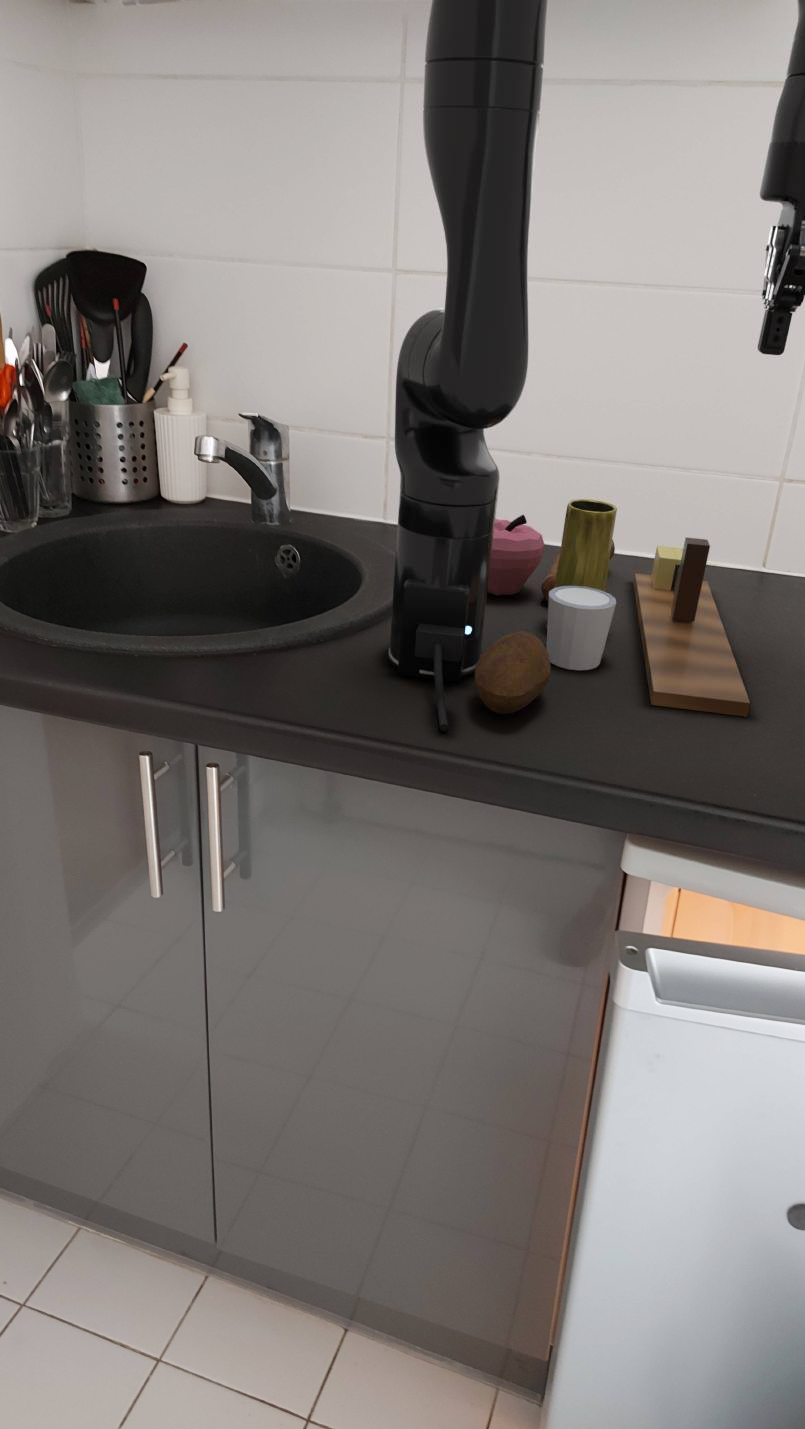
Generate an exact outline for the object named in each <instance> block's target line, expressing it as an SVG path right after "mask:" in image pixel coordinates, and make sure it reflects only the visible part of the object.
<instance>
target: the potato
mask: <svg viewBox="0 0 805 1429" xmlns="http://www.w3.org/2000/svg"><path fill="white" fill-rule="evenodd" d="M551 668H552V667H551V663H550V660H549V655H548V652H547V647H546V646H545V645H544V643H543V642H542V640H541V639H540V638H539V637H537V636H536V635H535V634H533V633H532V632H530V631H523V630H518V631H514V632H511V633H508V634H505V635H504V636H502V637H501V638H499V639H498V640H497V641H495V642H493V643H492V644H491V645H490V646H489V647H488V648H487V649H486V650H485V651H484V652H483V653H481V656H480V658H479V660H478V663H477V665H476V668H475V672H474V686H475V690H476V693H477V696H478V697H479V699H480V700H481V701H482V703H483V704H484V706H485V707H486V708H488V710H490V711H491V712H493V713H495V714H499V715H509V714H514V713H516V712H518V711H520V710H522V709H523V708H526V706H528V705H529V704H531V702H532V701H534V700H535V699H536V698H537V697H538V696H539V695H540V694H541V693H542V691H543V690H544V689H545V687H546V686H547V685H548V683H549V681H550V677H551Z"/></svg>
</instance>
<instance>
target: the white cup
mask: <svg viewBox="0 0 805 1429" xmlns="http://www.w3.org/2000/svg"><path fill="white" fill-rule="evenodd" d="M616 605H617V600H616V597H614V596H613V595H612V594H611V593H608V592H607V591H606V592H604V591H601V590H598V589H594V588H589V587H582V586H561V587H557V588H553V589H552V590H551V591H549V601H548V604H547V606H548V607H547V622H548V627H547V628H546V630H547V631H546V650H547V652H548V655H549V660H550V664H553V665H555V666H556V667H559V668H562V669H566V670H573V671H590V670H593V669H596V668H598V666H600V664H601V662H602V658H603V654H604V650H605V646H606V642H607V639H608V635H609V632H610V628H611V625H612V621H613V618H614V617H613V616H614V612H615V609H616V607H617V606H616Z"/></svg>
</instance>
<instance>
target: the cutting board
mask: <svg viewBox="0 0 805 1429" xmlns="http://www.w3.org/2000/svg"><path fill="white" fill-rule="evenodd" d="M651 575H652V574H645V573H637V572H636V573H635V572H634V578H633V582H632V586H633V592H634V600H635V604H636V605H635V606H636V612H637V620H638V626H639V633H640V639H641V646H642V653H643V659H644V666H645V673H646V680H647V686H648V694H649V699H650V705H651V706H657V707H665V708H673V709H681V710H688V711H689V710H690V711H697V712H705V713H713V714H721V715H729V716H738V717H745V718H747V717H748V715H749V710H750V706H751V701H750V699H749V698H750V697H749V696H748V693H747V690H746V688H745V685H744V682H743V679H742V675H741V673H740V671H739V667H738V664H737V662H736V659H735V656H734V653H733V650H732V648H731V645H730V641H729V639H728V636H727V632H726V631H725V628H724V625H723V622H722V619H721V616H720V613H719V611H718V607H717V605H716V602H715V600H714V597H713V593H712V591H711V587H710V584H709V582H708V581H707V580H703V582H702V587H701V592H700V597H699V601H698V606H697V611H696V616H695V621H694V622H692V621H684V620H675V619H673V618H672V614H671V609H672V604H673V599H674V594H675V592H674V588H673V584H672V586H671V590H670V591H669V590H660V589H654V586H653V581H652V576H651Z"/></svg>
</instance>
